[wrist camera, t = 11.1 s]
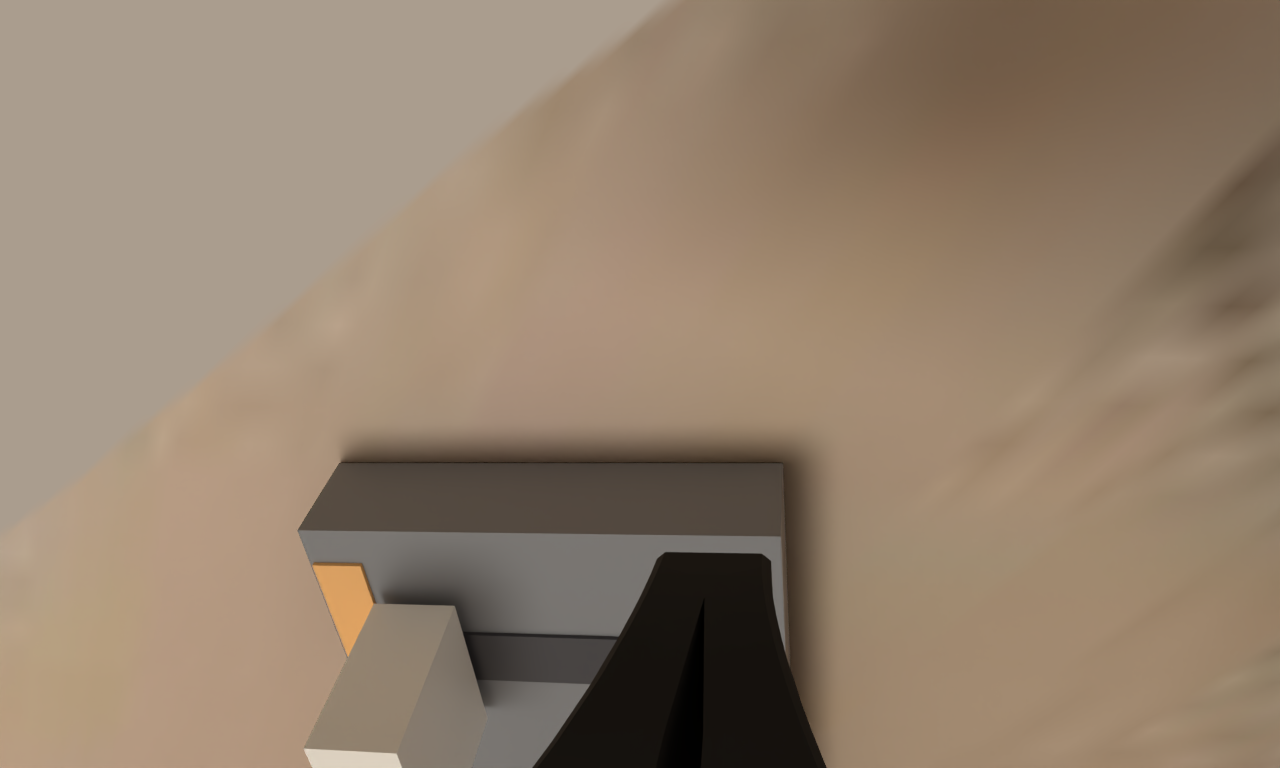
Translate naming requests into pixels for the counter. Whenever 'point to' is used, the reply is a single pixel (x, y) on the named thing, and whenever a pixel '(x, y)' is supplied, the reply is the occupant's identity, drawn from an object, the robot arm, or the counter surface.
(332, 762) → the block
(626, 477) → the board
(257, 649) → the counter surface
